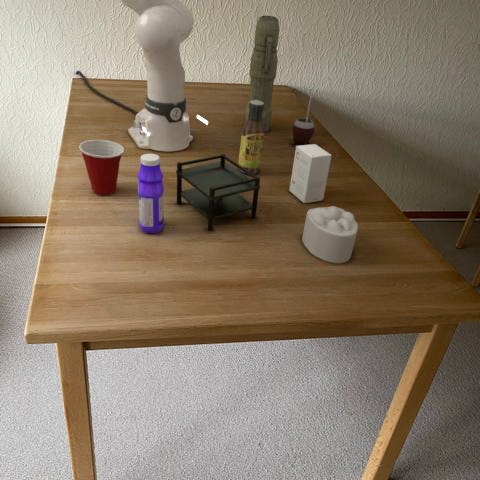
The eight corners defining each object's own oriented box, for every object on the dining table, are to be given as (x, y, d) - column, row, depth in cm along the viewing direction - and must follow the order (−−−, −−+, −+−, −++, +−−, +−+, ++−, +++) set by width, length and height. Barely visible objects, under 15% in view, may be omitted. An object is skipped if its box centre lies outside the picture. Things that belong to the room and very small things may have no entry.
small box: (323, 200, 139) (332, 155, 131) (303, 204, 137) (311, 157, 129) (307, 187, 145) (315, 143, 137) (288, 190, 142) (295, 145, 134)
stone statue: (264, 122, 186) (276, 14, 164) (274, 134, 177) (288, 21, 156) (240, 122, 183) (249, 12, 162) (249, 134, 174) (260, 20, 153)
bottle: (140, 219, 123) (137, 149, 113) (164, 219, 124) (163, 150, 113) (138, 234, 117) (135, 163, 107) (163, 235, 118) (162, 164, 108)
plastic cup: (129, 199, 131) (126, 154, 124) (85, 201, 128) (80, 155, 121) (124, 180, 139) (121, 137, 132) (82, 182, 136) (77, 138, 129)
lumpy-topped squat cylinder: (335, 231, 126) (342, 199, 121) (361, 260, 117) (370, 227, 111) (297, 235, 123) (302, 203, 118) (320, 265, 114) (328, 232, 108)
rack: (175, 203, 131) (176, 162, 125) (221, 192, 138) (223, 153, 132) (209, 231, 121) (211, 189, 115) (256, 218, 128) (261, 177, 122)
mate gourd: (297, 149, 167) (304, 102, 158) (285, 140, 173) (292, 94, 164) (316, 147, 170) (324, 101, 161) (304, 138, 175) (312, 93, 166)
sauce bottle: (243, 176, 147) (249, 106, 135) (234, 167, 152) (240, 99, 140) (263, 174, 150) (271, 105, 138) (254, 165, 154) (261, 98, 142)
